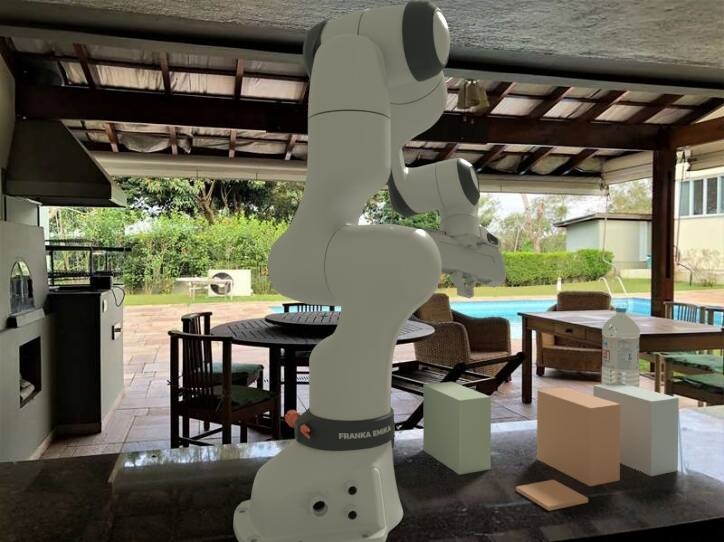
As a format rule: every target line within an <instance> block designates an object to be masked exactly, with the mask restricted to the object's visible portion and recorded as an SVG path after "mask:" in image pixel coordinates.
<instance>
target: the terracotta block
mask: <svg viewBox="0 0 724 542" xmlns="http://www.w3.org/2000/svg"><path fill="white" fill-rule="evenodd" d="M536 394H537V396H536V398H537V402H536V403H537V404H536V408H537V409H536V410H537V411H536V413H537V414H536V416H537V417H536V423H537V424H536V460H537V461H540V462H542V463H543V464H545V465H547V466H549V467H552V468H554V469H555V470H557V471H559V472H561V473H562V474H565V475H567V476H569V477H571V478H573V479H575V480H577V481H579V482H581V483H582V484H584V485H587V486H589V487H595V486H598V485H603V484H607V483H608V484H609V483H613V482H617V481H618V482H619V481H620V480H621V478H620V477H621V476H620V475H621V472H620V471H621V470H620V469H621V465H620V464H621V463H620V404H618V403H615V402H611V401H608V400H605V399H601V398H598V397H595V396H593V394H592V395H591V394H589V393H588V394H587V393H584V392H581V391H579V390H574V389H571V388H568V387H558V388H547V389H539V390H537V393H536Z"/></svg>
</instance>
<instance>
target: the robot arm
mask: <svg viewBox="0 0 724 542" xmlns="http://www.w3.org/2000/svg"><path fill="white" fill-rule="evenodd" d="M445 17H446V16H445V15H444V12H443V11H442V10H441V9H440V8H439V7H438V6H437V5H436V4H434V3H433V2H431V1H425V0H417V1H416V0H414V1H413V0H412V1H408V2H407V3H406V4H396V5H387V6H380V7H375V8H370V7H369V8H364V9H360V10H356V11H354V12H350V13H347V14H344V15H341V16H339V17H336V18H327V19H325V20H323V21H320V22H319V23H316V24H315V25H314V26H312V27H311V28H310V29H309V31H308V33H307V35H306V37H305V39H304V42H303V46H302V59H303V64H304V68H305V71H306V74H307V76H308V77H309V79H310V84H309V93H308V108H307V111H308V112H307V163H306V165H307V166H306V178H305V184H304V189H303V193H302V196H301V199H300V202H299V205H298V208H297V210H296V212H295V215H294V216H293V218H292V220H291V222H290V224H289V226H288V227H287V228H286V230H285V231H284V232H283V233H282V234H281V235H280V236H279V237H278V238H277V239H276V240H274V243H273V244H272V246H271V248H270V251H269V254H268V257H267V272H268V273H267V274H268V277H269V281H270V284H271V285H272V287H273V288H274V290H275V291H276V292H277V293H278V294H279V295H281V296H283V297H285V298H288V299H290V300H293V301H297V302H300V303H303V304H306V305H312V306H313V305H315V306H329V307H330V306H332V307H340V315H339V318H338V319H339V320H338V323H337V326H336V328H335V330H334V332H333V333H332V334H331V335H329V336H327V337H325V338H323V339H322V340H320V341H319V342H318V343H317V344H316V345H315V346H314V348H313V349H312V351H311V353H310V355H309V360H308V363H309V364H308V365H309V366H308V367H309V368H308V373H309V375H308V386H309V387H308V395H309V397H308V398H309V399H308V400H309V401H308V402H309V405H308V406H309V407H308V408H307V409H306V410H305V411H304V412H303V413H302V414H299V412H298V411H297V410H295V409H290V410H288V411H287V412H286V414H285V415H284V420H285V422H286V424H287V425H288V426H289V427H290V428H293V429H294V439H293V440H292V441H291V442H289V443H288V444H287V445H285V447H284V448H282V449H280V451H278V453H276V455H274V456H273V457H272V458H270V459H269V460H268V461H267V462H265V463H264V464H263V465H261V467H260V468H259V469H258V470H257V471H256V474H255V477H254V480H253V485H252V488H251V496H250V499H248V500H243V501H241V502H239V503H240V504H238V505H237V507H236V509H235V510H234V513H233V523H232V525H233V526H232V527H233V531H234V535H235V538H236V540H237V541H238V542H386V541H387V539H388V534H389V533H390V532H391V531H392V530H393V529H394V528H395V527H397V526H398V524H399V523H400V522H401V521H402V519H403V516H404V511H403V507H402V503H401V501H400V497H399V491H398V487H397V482H396V481H397V479H396V475H395V469H394V468H395V467H394V466H395V465H394V456H393V449H394V446H395V434H396V433H395V432H396V431H395V427H396V426H395V410H394V409H393V407H392V403H391V402H392V392H391V391H392V384H391V382H392V381H391V380H392V373H393V372H392V371H393V361H394V360H393V359H394V353H395V349H396V345H397V342H398V339H399V336H400V334H401V332H402V330H403V328H404V326H405V324H406V323H407V322H408V320H409V319H410V317H411V316H412V315H413V314H414V313H415V312H416V311H417V310H418V309H419V308H421V306H423V305H425V304H426V303H427V302H428V301H429V300H430V299H431V297H433V296H434V294H435V293H436V291H437V288H439V287H438V286H439V285H440V282H441V277H442V274H443V275H445V276H448V277H449V276H450V279H451V282H452V283H453V285H454V286H455V288H456V293H457V296H460V297H463V298H467V299H471V298H473V297H474V296H475V290H474V288H475V287H476V285H477V284H480V285H483V286H487V287H490V288H496V287H498V286H500V285H502V284H503V283H504V282H505V281H506V279H507V270H506V264H505V258H504V255H503V253H502V251H501V250H499V249H501V248H502V241H501V239H500V238H498V237H497V236H495V234H492V233H491V232H489V230H488V229H486V228H485V227H484V226H483V225H481V220H480V217H479V209H480V207H479V205H480V204H479V200H480V198H481V191H480V182H479V175H478V173H477V170H476V168H475V166H474V165H473V164H472V163H470V162H468V161H467V160H466V159H464V158H462V157H457V158H451V159H449V158H448V159H446V160H441V161H437V162H434V163H430V164H429V163H428V164H425V165H422V166H418V167H406V164H405V160H404V154H403V149H402V148H403V147H404V146H405V145H406V144H407V143H408V142H410V141H411V140H412V139H415V137H417V136H418V135H420V134H422V133H424V132H426V131H427V130H429V129H431V128H432V127H433V126H434V125H435V124H436V123H437V122H438V121H439V119H440V117H441V116H442V115H443V113H444V112H445V109H446V107H447V103H448V98H449V95H448V89H447V88H448V87H447V81H446V77H445V74H444V71H443V70H444V68H445V67H446V65H447V64H448V61H449V57H450V56H449V55H450V48H451V36H450V35H451V33H450V30H449V26H448V23H447V21H446V18H445ZM386 185H387V193H388V199H389V203H390V206H391V209H393V211H394V212H396V213H397V214H399V215H401V216H403V217H404V218H408V219H409V218H411V217H415V216H417V215H421V214H424V213H428V212H433V211H438V214H439V217H440V221H439V224H438V225H439V226H438V227H439V229H437V228H436V229H435V228H433V227H430V226H427V227H424V228H422V229H421V228H416V227H411V226H407V225H402V224H401V225H400V224H395V223H379V224H378V223H374V224H360V223H359V222H360V218H361V214H362V211H363V209H364V207H365V206H366V204H367V203H368V201H369V200H370V199H372V197H374V196H375V195H376V194H377V193H379V192H380V191H382V190H383V189H384V187H386ZM463 280H464V281H465V283H464V281H463ZM465 284H466V285H467V286H466V285H465Z"/></svg>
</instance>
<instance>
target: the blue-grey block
mask: <svg viewBox="0 0 724 542" xmlns="http://www.w3.org/2000/svg"><path fill="white" fill-rule="evenodd" d="M592 392H593V394H592V396H595V397H598V398H601V399H605V400H608V401H611V402H615V403H618V404H620V464H621V465H624V466H626V467H629V468H630V469H633V470H635V469H636V471H638V470H639V471H638V472H640V471H641V472H640V473H642V472H643V474H645V475H647V476H650V477H654V476H659V475H665V474H667V473H673V472H677V471H678V470H679V404H680V403H679V397H678V396H674V395H673V396H672V395H669V394H665V393H661V392H657V391H652V390H650V389H645V388H641V387H639V388H638V387H634V386H630V385H626V384H623V383H619V382H618V383H610V384H602V383H601V384H596V385H595V384H593V391H592Z"/></svg>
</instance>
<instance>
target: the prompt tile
mask: <svg viewBox="0 0 724 542" xmlns="http://www.w3.org/2000/svg"><path fill="white" fill-rule="evenodd" d="M515 491H516V492H518V493H519V494H521V495H522V496H523V497H525V498H527V499H528V500H530V501H532V502H533V503H535V504H537V505H538V506H540V507H541V508H543V509H545V510H547V511H549V512H551V511H554V510H559V509H564V508H568V507H573V506H578V505H581V504H582V505H583V504H587V503H589V498H588V497H587V496H585V495H583V494H581V493H580V492H578V491H576V490H574V489H572V488H570V487H568V486H566V485H564V484H562V483H560V482H559V481H557V480H555V479H549V480H545V481H539V482H538V481H537V482H533V483H530V484H529V483H528V484H523V485H518V486H515Z"/></svg>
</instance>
